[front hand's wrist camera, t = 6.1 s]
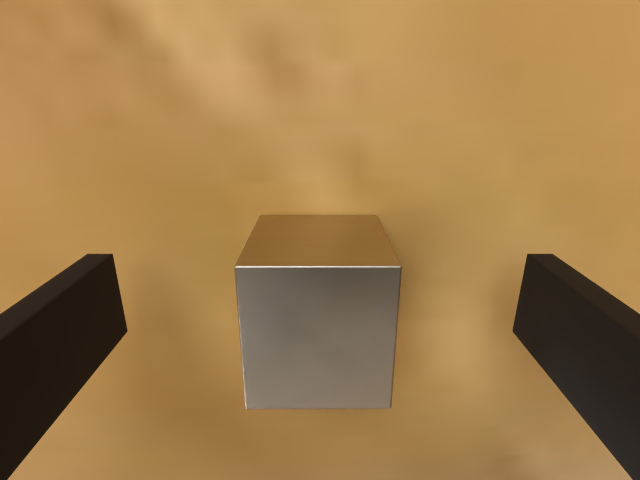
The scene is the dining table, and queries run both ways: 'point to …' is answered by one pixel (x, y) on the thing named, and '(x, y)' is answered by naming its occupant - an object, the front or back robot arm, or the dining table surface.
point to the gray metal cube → (318, 313)
